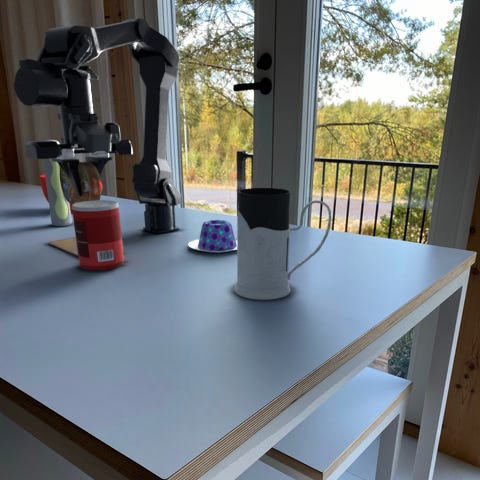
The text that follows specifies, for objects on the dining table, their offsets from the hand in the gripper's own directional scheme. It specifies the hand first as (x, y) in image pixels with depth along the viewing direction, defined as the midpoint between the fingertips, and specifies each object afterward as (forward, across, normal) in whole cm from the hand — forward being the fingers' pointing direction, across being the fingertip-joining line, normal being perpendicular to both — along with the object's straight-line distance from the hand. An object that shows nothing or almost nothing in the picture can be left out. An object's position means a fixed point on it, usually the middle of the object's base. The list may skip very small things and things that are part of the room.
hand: (87, 195), depth 92 cm
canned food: (+11, -4, -10) cm, 16 cm away
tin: (+2, 0, +3) cm, 4 cm away
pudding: (+11, +20, -15) cm, 27 cm away
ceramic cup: (+11, +17, +45) cm, 50 cm away
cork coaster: (+11, -1, +3) cm, 11 cm away
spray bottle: (+11, +6, +29) cm, 32 cm away
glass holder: (+11, +10, -42) cm, 45 cm away
